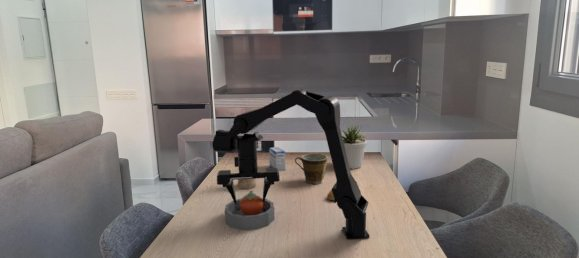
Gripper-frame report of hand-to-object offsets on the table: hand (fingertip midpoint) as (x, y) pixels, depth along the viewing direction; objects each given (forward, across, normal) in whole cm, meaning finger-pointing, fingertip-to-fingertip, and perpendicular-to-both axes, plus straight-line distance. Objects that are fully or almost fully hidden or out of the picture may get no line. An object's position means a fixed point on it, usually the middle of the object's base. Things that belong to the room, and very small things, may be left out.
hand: (249, 202), depth 122 cm
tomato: (+5, 0, 0) cm, 5 cm away
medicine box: (+6, -12, -49) cm, 51 cm away
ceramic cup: (+6, -24, -31) cm, 40 cm away
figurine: (+6, +1, -29) cm, 30 cm away
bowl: (+5, 0, 0) cm, 5 cm away
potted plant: (+6, -44, -47) cm, 65 cm away
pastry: (+6, -32, -14) cm, 35 cm away
